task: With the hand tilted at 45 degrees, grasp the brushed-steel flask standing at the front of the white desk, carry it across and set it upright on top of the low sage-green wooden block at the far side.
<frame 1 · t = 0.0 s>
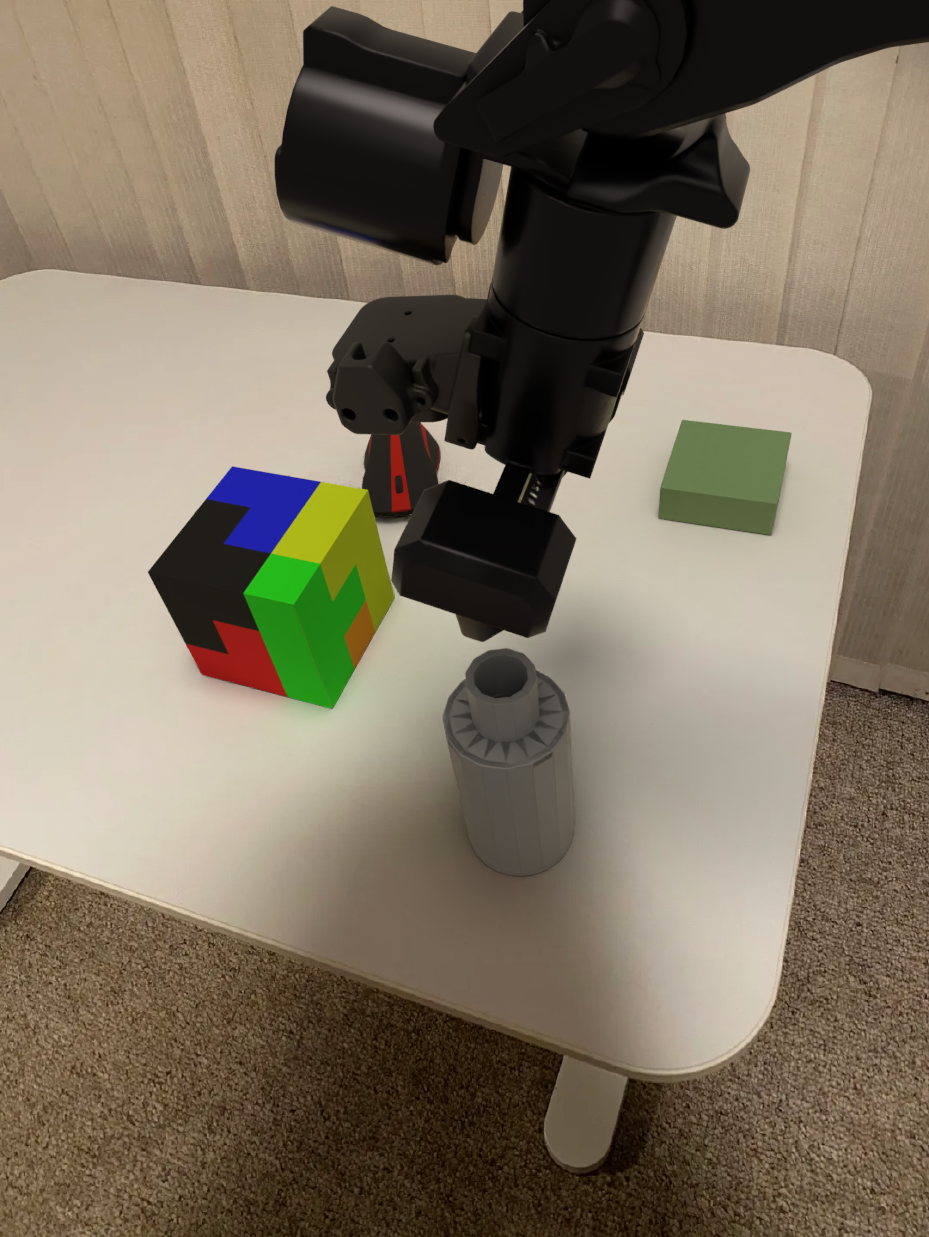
hand: (500, 567, 46), 14 cm above the table, tool pointing down, fingers open, 9 cm apart
puzzle toy: (301, 637, 64), on the table
computer mouse: (403, 479, 74), on the table
flask: (520, 826, 52), on the table
green block: (723, 490, 69), on the table
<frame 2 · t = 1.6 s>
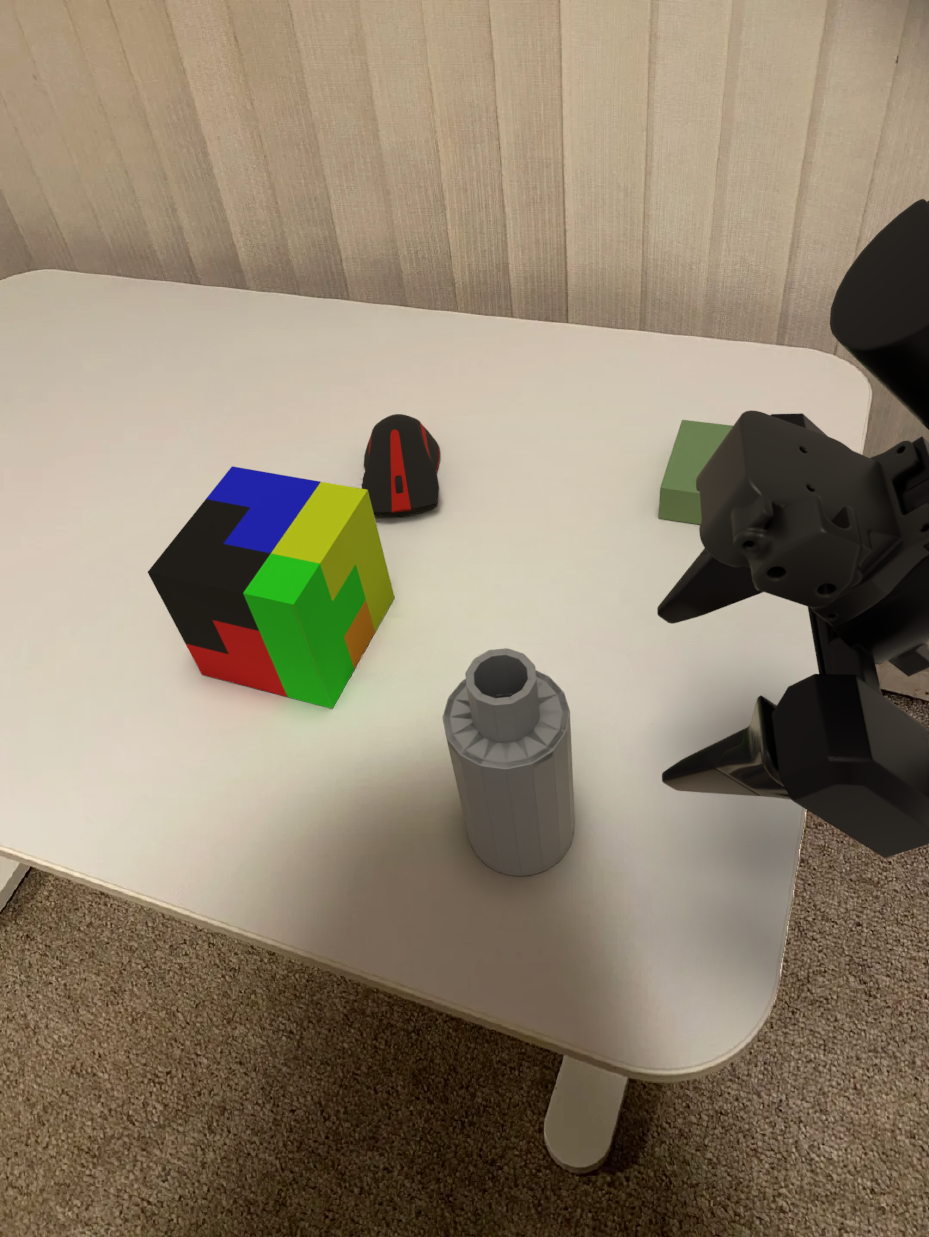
hand: (665, 693, 41), 13 cm above the table, tool tilted 45°, fingers open, 9 cm apart
nothing on the table moved.
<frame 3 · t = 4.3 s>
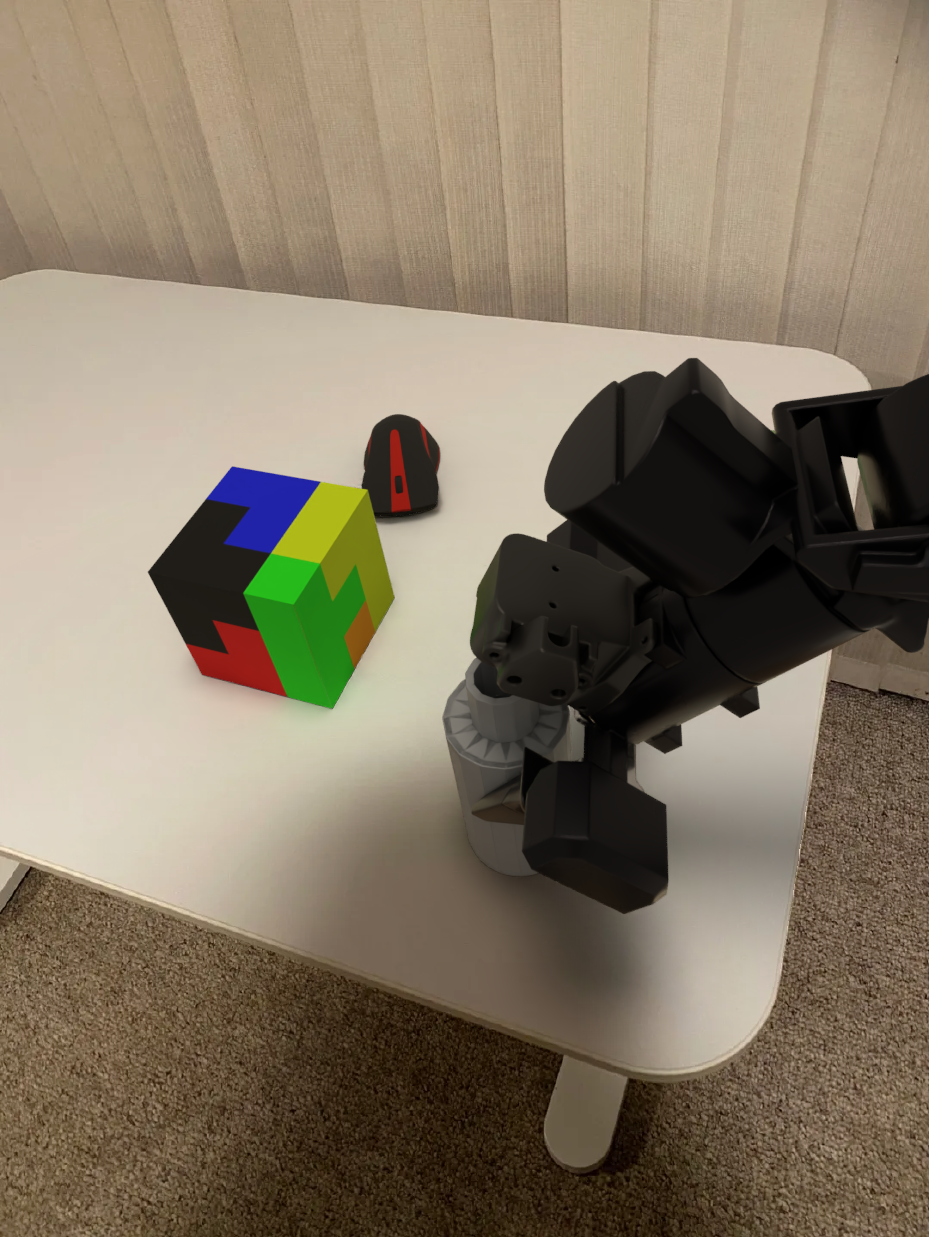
hand: (484, 758, 47), 7 cm above the table, tool tilted 45°, fingers closed on flask, 6 cm apart
flask: (520, 826, 52), on the table, touching gripper
everything else where it was.
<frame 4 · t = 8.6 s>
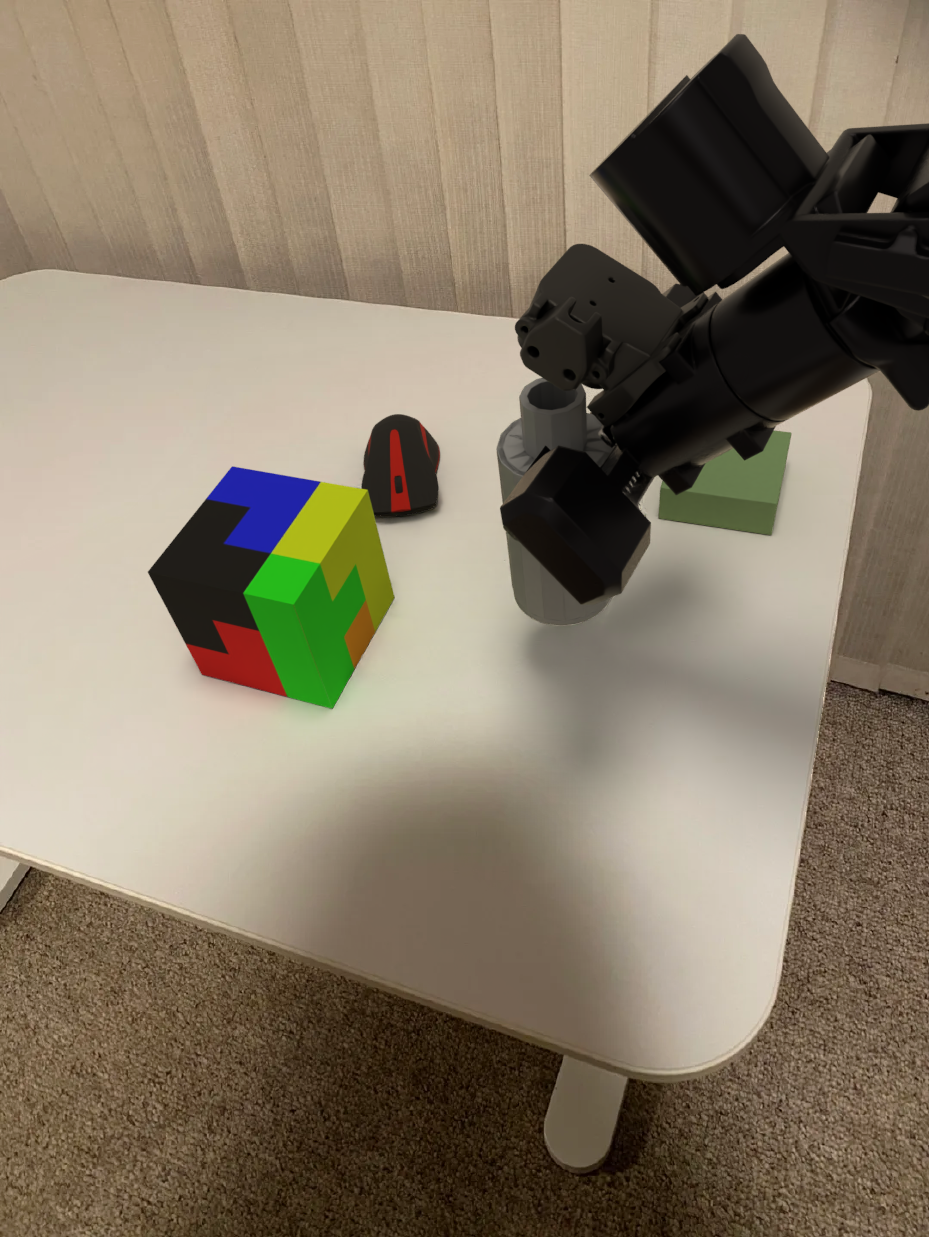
hand: (536, 494, 51), 13 cm above the table, tool tilted 45°, fingers closed on flask, 6 cm apart
flask: (563, 588, 56), point 6 cm above the table, touching gripper
everything else where it was.
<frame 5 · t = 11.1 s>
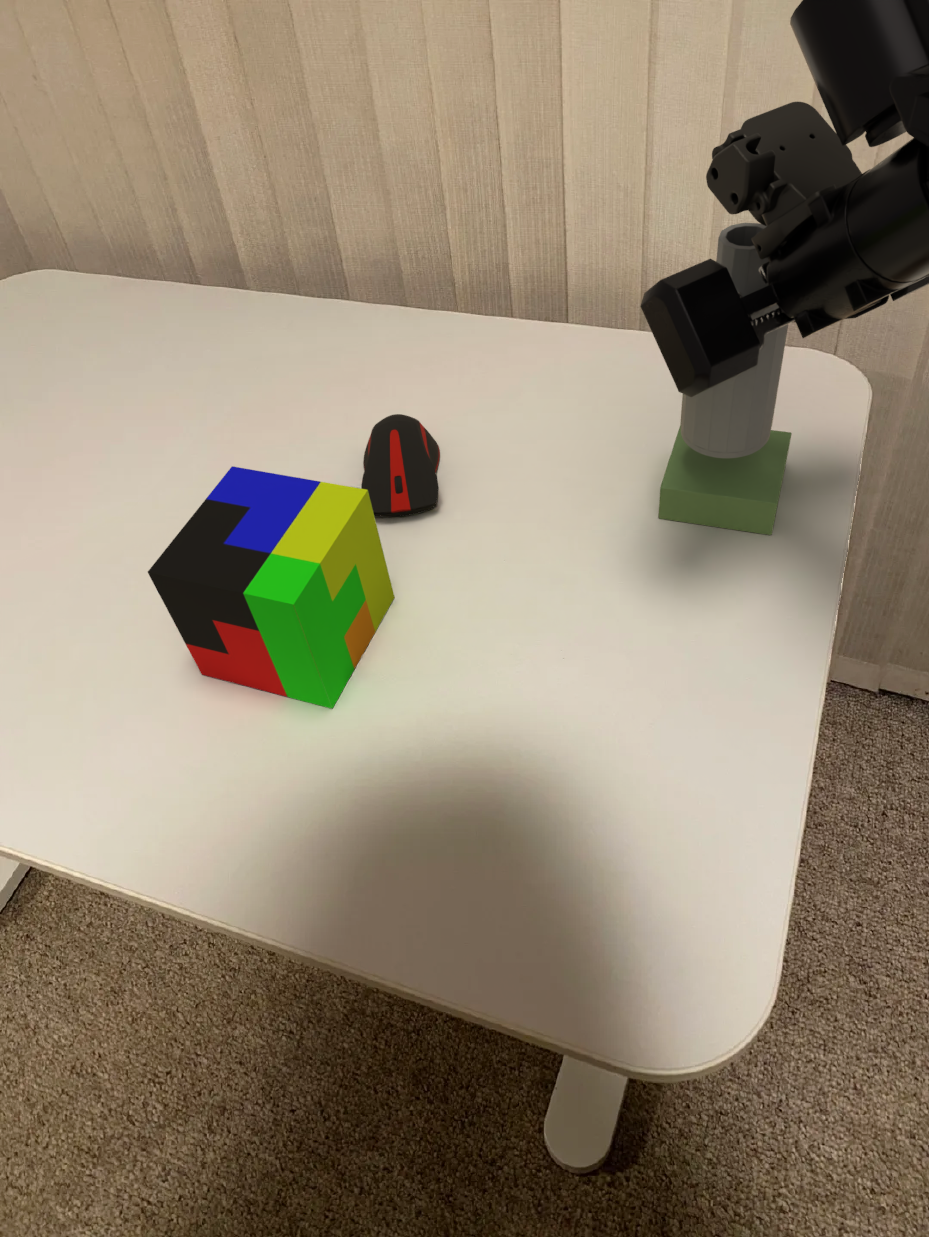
hand: (721, 333, 60), 13 cm above the table, tool tilted 45°, fingers closed on flask, 6 cm apart
flask: (725, 431, 64), point 6 cm above the table, touching gripper
everything else where it was.
when the fingers open (10 cm above the table, at t = 13.0 s): flask stays where it is, resting on green block.
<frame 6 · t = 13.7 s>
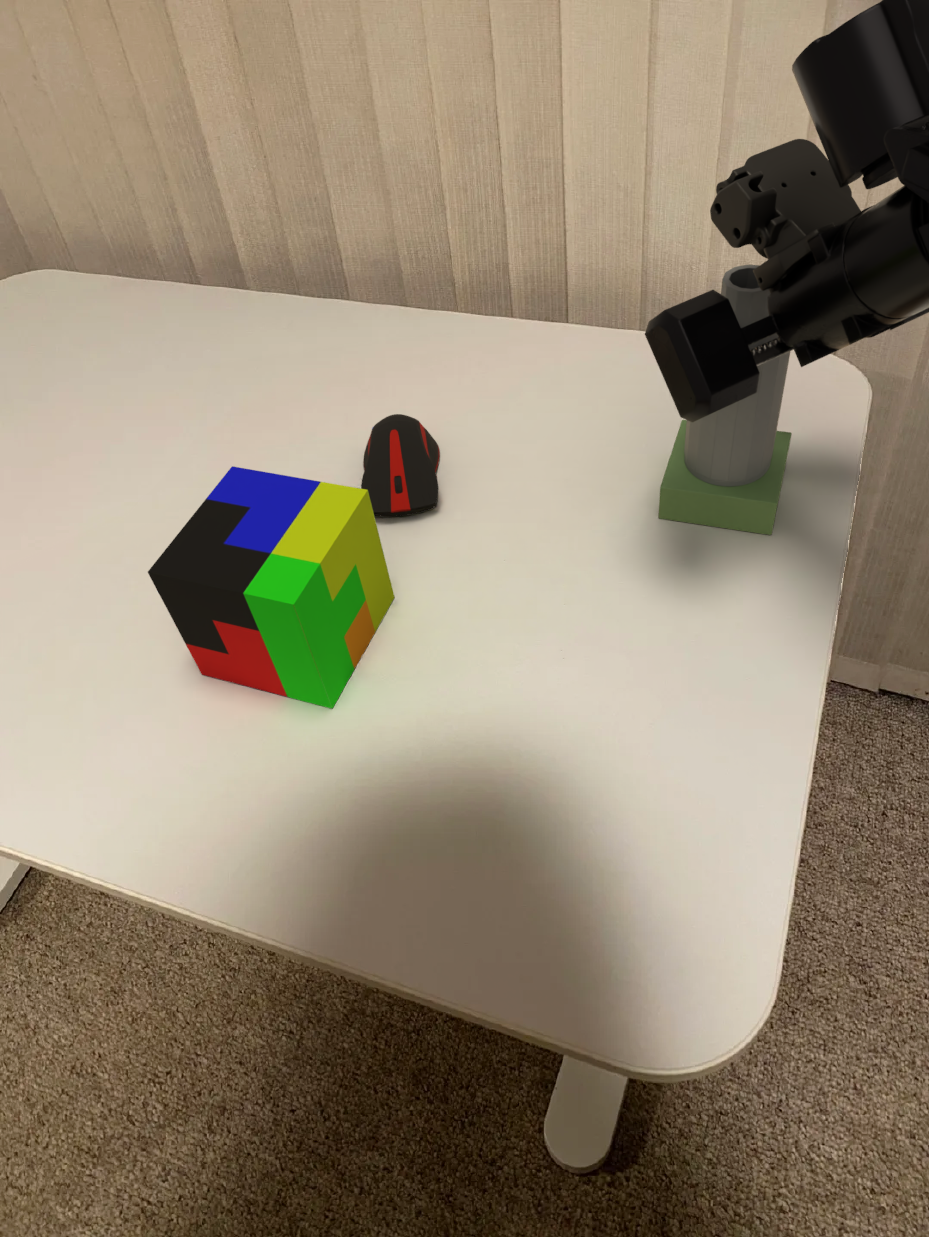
hand: (724, 355, 61), 11 cm above the table, tool tilted 45°, fingers open, 9 cm apart
flask: (727, 459, 66), point 3 cm above the table, touching green block
green block: (723, 490, 69), on the table, touching flask
everything else where it was.
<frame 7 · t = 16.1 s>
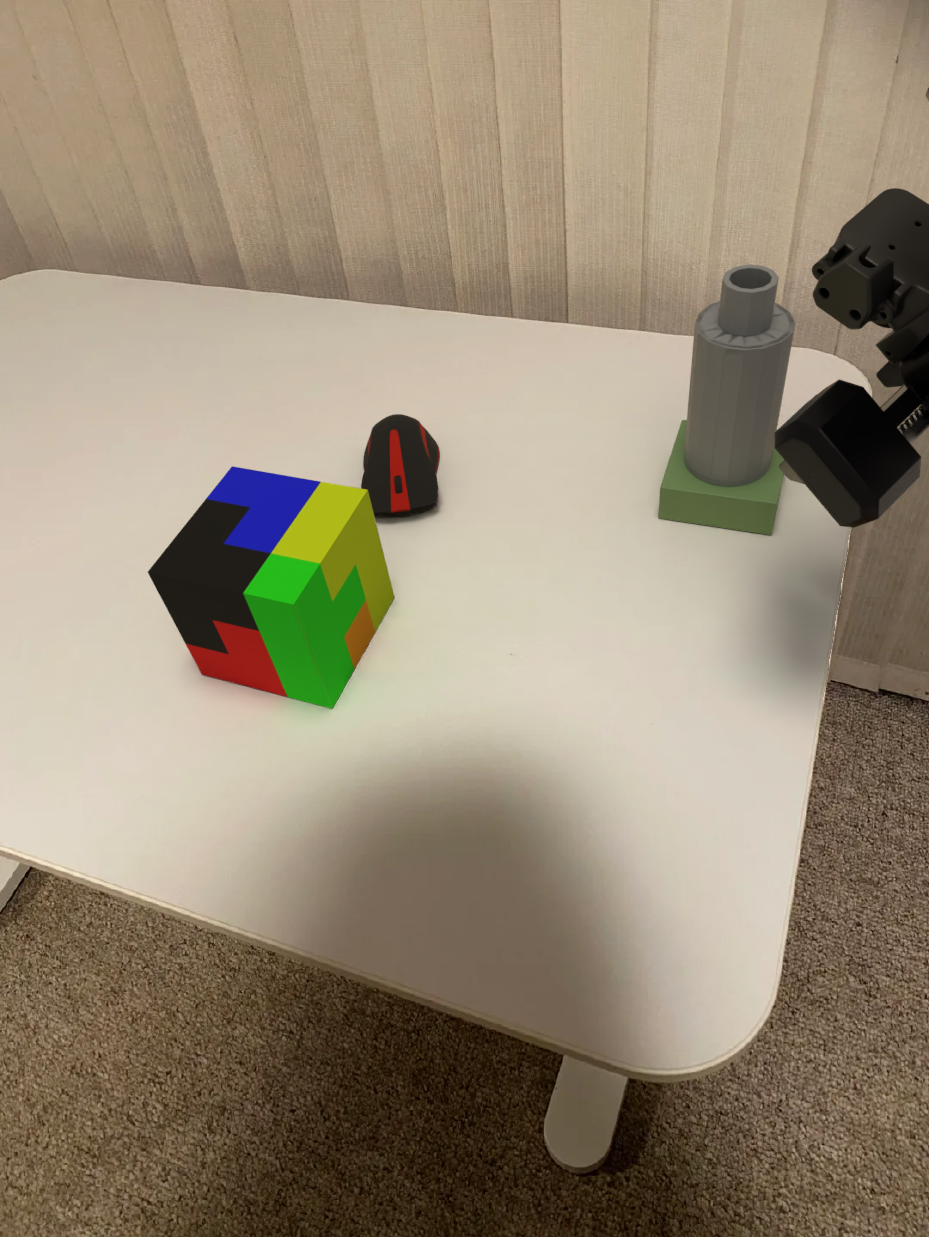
hand: (834, 424, 55), 11 cm above the table, tool tilted 40°, fingers open, 9 cm apart
nothing on the table moved.
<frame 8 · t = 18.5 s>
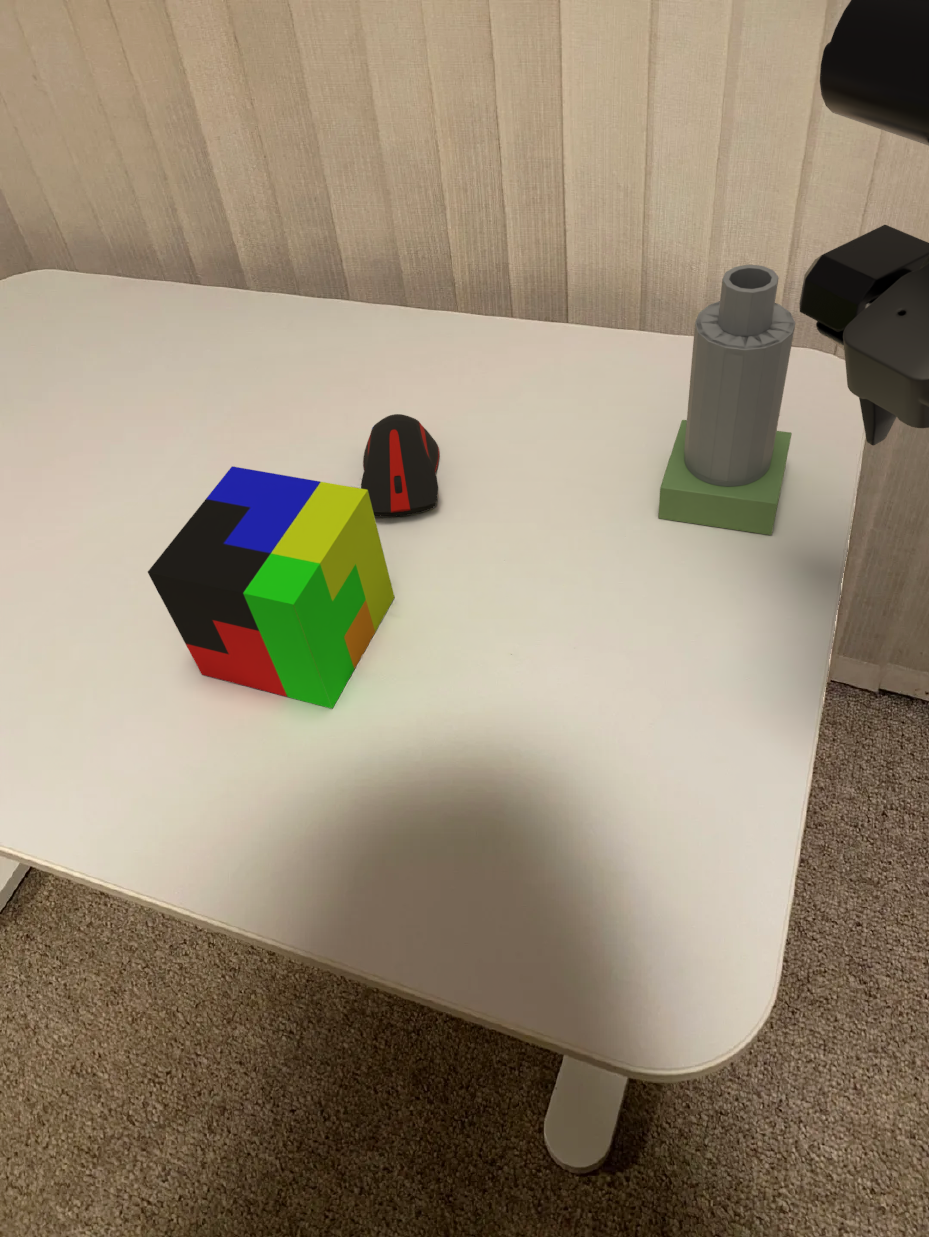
nothing on the table moved.
at the end: flask 0.0 cm off-centre on the green block, point 3.0 cm above the green block's base; flask tilted 0°; the gripper is holding nothing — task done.
